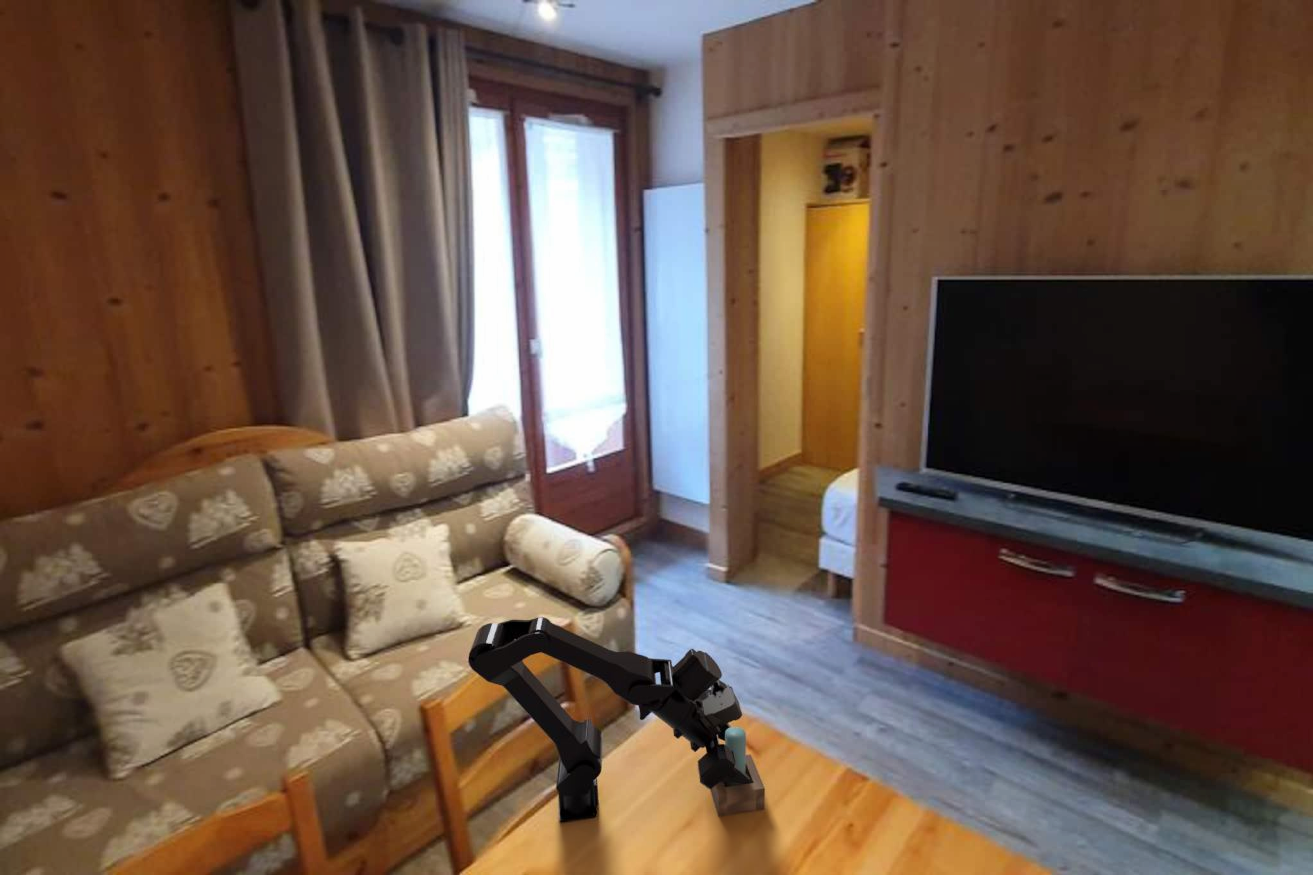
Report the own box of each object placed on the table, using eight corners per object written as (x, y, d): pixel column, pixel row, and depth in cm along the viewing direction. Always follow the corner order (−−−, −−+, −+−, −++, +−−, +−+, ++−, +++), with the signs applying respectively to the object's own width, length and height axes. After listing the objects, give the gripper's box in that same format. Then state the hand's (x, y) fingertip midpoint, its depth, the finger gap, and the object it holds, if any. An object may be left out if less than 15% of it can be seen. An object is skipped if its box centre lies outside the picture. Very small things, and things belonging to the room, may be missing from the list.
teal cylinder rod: (724, 801, 119) (724, 740, 116) (725, 785, 123) (725, 725, 119) (744, 803, 119) (745, 742, 115) (745, 788, 122) (746, 727, 118)
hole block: (718, 816, 116) (718, 795, 115) (707, 780, 124) (707, 760, 123) (764, 809, 117) (764, 788, 116) (750, 774, 125) (750, 754, 124)
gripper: (721, 718, 105) (789, 772, 108) (706, 649, 123) (764, 698, 126) (671, 763, 107) (740, 815, 110) (663, 689, 125) (722, 735, 128)
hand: (743, 761), depth 119 cm, fingers open, 9 cm apart
